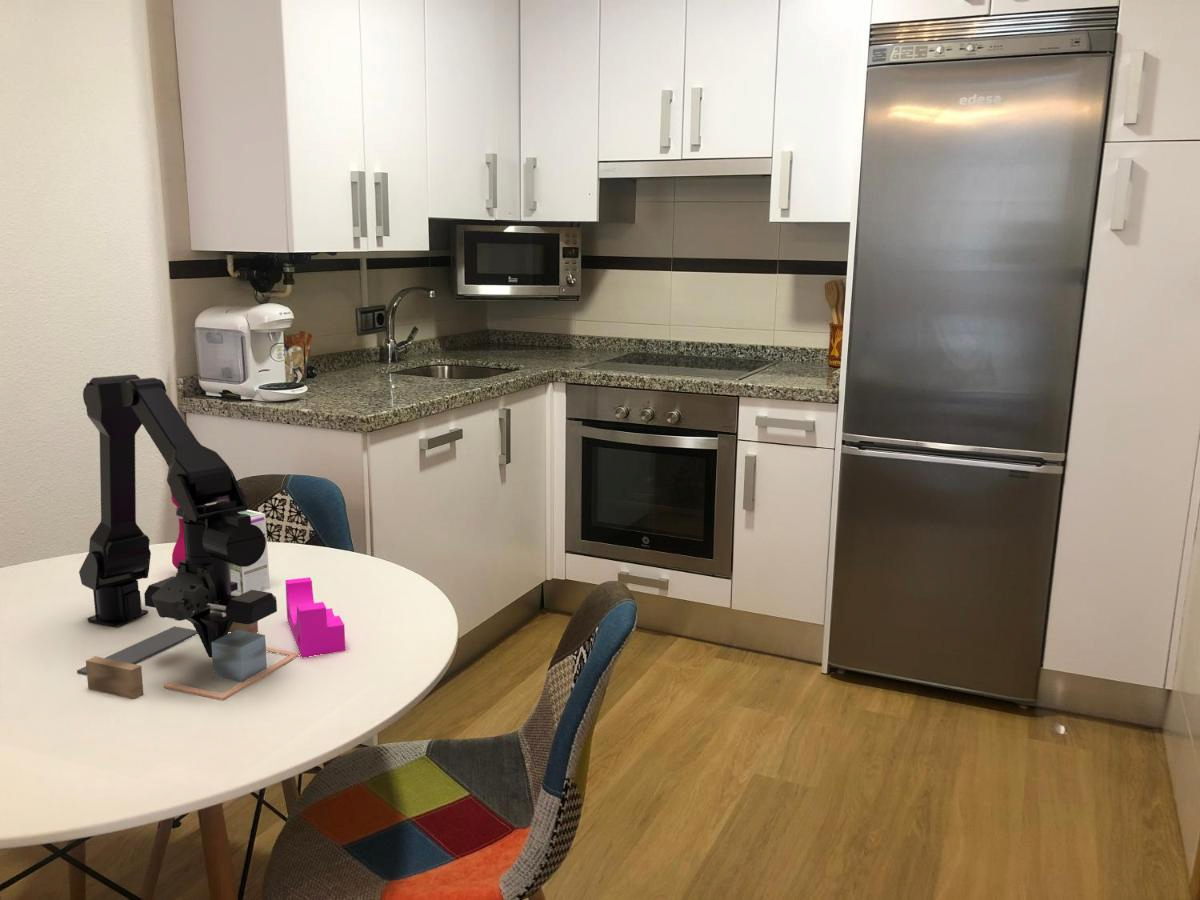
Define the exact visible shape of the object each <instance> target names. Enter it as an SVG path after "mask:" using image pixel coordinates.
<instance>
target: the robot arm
mask: <svg viewBox="0 0 1200 900" xmlns="http://www.w3.org/2000/svg"><path fill="white" fill-rule="evenodd" d="M82 397H83V399H82V400H83V402H84V405H85V407H86V415H87V417H88V418H89V420H90V422H92V424H93V425H94V426H95V428H96V429H97V431H98V432H99V434H98V435H99V464H100V465H99V470H100V471H99V474H100V481H99V482H100V516H101V517H100V522H99V524H98V526H97V527H96V528H95V530H94V531H93V533H92V534H91V536H90V538H89V544H88V545H89V547H88V553H87V555H86V557H85V559H84V561H83V563H82V565H81V566H80V568H79V572H78V573H79V578H80V582H81V585H82V586H84V587H87V588H89V589H90V590H92V592H93V605H94V615H92V616H88V617H87V618H86V619H87V622H89V623H96V624H100V625H105V626H111V627H121V626H123V625H126V624H127V623H130V622H132V621H135V620H138V619H140V618H142V617H144V616H146V615H148V614H149V610H148V609H147V610H146V609H142V599H141V597H142V596H141V591H140V590H139V581H138V580H141V579H148V578H149V572H150V565H151V563H150V562H151V555H152V553H151V549H150V538H149V537H148V535H147V534H145V533H144V532H143V530H142V529H141V527H140V526H138V524H137V514H136V513H137V512H136V511H137V507H136V506H137V503H136V502H137V499H136V497H137V496H136V494H137V493H136V492H137V491H136V490H137V489H136V488H137V487H136V483H137V482H136V479H137V478H136V434H137V433H138V431H139V429H140V428H141V426H143V428H144V429H145V431H146V432H147V434H148V435H149V437H150V439H151V440H152V441H153V443H154V445H155V446H156V448H157V449H158V451H159V452H160V454H161V456H162V457H163V459H164V461H165V462H166V464H167V466H168V471H167V477H166V482H167V484H168V486H169V489H170V493H172V496H173V497H174V499H175V500H176V502H177V503H178V505H179V506H180V508H179V509H178V510H177V511H175V516H176V515H177V516H180V517H183V530H184V545H185V560H182V561H179V565H178V567H177V568H178V569H177V568H176V569H177V572H178V573H177V572H176V573H177V576H176V575H175V576H169V577H168V578H165V579H162V580H160V581H156V582H155V583H151V584H149V585H148V586H147V588H146V590H145V591H144V594H143V595H144V597H143V598H144V606H145V607H149V608H154V609H156V612H157V615H158V616H159V617H160V618H162V619H165V618H168V619H173V620H175V621H185V620H186V621H188V622H190V623H191V625H193V627H194V630H196V631H197V633H198V634H197V635H198V636H199V639H200V641H201V643H202V645H203V648H204V649H205V652H206V655H207V657H209V658H211V659H212V645H211V642H213V641H215V640H217V639H219V638H221V637H223V636H225V635H227V634H229V633H228V632H229V630H230V627H231V626H232V624H233V622H236V623H241V624H253V623H255V622H257V621H260V620H263V619H265V618H266V617H268V616H271V615H273V614H274V613H277V612H278V604H277V602H278V601H277V597H276V595H274V594H273V593H272V592H267V591H257V590H250V591H248V592H246V593H243V594H241V595H234V594H231V592H233V591H235V590H237V589H238V584H237V582H231V573H230V564H234V565H236V566H240V567H247V566H250V565H252V564H254V563H255V562H257V561H258V560H259V559H260V558H261V556H262V554H263V553H264V550H265V547H266V538H265V537H264V534H263V532H262V531H261V529H260V528H259V527H257V526H255V525H253V524H251V517H250V515H247V514H240V513H238V512H242V511H247V510H249V507H248V505H247V502H246V500H247V497H246V495H245V492H244V491H243V489H242V487H241V486H240V484H239V483H238V481H237V479H236V476H235V474H234V472H233V470H232V469H231V467H230V466H229V464H227V462H226V461H225V460H224V459H223V458H222V457H221V455H220V454H219V453H218V452H217V451H215V450H213V449H210V448H209V447H207V446H205V445H202V444H201V443H200V441H199V440H198V439H197V438H196V436H195V435H194V433H193V432H192V430H191V428H190V427H189V425H188V424H187V423H186V421H185V419H184V418H183V417H182V415H181V414H180V412H179V410H178V409H177V408H176V406H175V405H174V403H173V401H172V400H171V398H170V397H169V395H168V393H167V388H166V385H165V383H164V381H163V380H162V379H161V378H157V377H145V378H140V376H138V375H137V374H123V375H121V374H120V375H110V376H108V375H107V376H98V377H92V378H91V379H90V380H89V382H86V384H85V386H84V388H83V391H82ZM228 499H229V500H228ZM227 500H228V501H227Z"/></svg>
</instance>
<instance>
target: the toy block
mask: <svg viewBox="0 0 1200 900" xmlns="http://www.w3.org/2000/svg"><path fill="white" fill-rule="evenodd" d="M284 584H285V600H286V601H285V603H286V618H287V619H286V620H288V621H287V623H289V624H288V626H290V627H289V628H291V629H290V631H292V632H291V633H293V634H292V637H293V636H294V637H293V639H295V640H294V642H295V641H296V642H295V645H296V644H297V645H296V647H297V646H298V647H297V650H298V649H299V650H298V653H299V652H300V654H301V655H300V658H301V657H302V658H301V659H304V658H303V657H307V658H310V657H309V656H313V657H315V656H314V655H319V656H321V655H320V654H324V655H329V653H330V654H334V652H335V653H340V652H345V651H346V636H345V635H346V634H345V631H346V629H345V628H346V627H345V623H344V622H343V620H342V618H341V617H340V615H334V610H333V608H327V607H326V605H325V603H324V601H321V602H320V601H319V602H315V600H314V599H315V598H314V591H313V590H314V589H313V580H312V579H311V576H310V577H308V576H307V577H301V578H291V579H286V580H285V583H284Z"/></svg>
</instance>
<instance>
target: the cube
mask: <svg viewBox="0 0 1200 900" xmlns="http://www.w3.org/2000/svg"><path fill="white" fill-rule="evenodd" d="M211 645H212V658H211V660H212V672H213V675H212V676H213V677H216V678H220V679H225V680H230V681H236V682H240V683H242V682H244V681H246V680H247V679H249V678H251V677H253V676H254V675H256V674H258V673H260V672H261V671H263V670H265V669H267V668H268V666H267V665H268V664H267V652H266V647H267V645H266V634H262V633H261V634H260V633H258V634H257V633H251V632H246V631H240V630H235V631H233V632H231V633H228V634H227V635H225V636H223V637H221V638H219V639H217V640H215V641H213V642H211Z"/></svg>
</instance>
